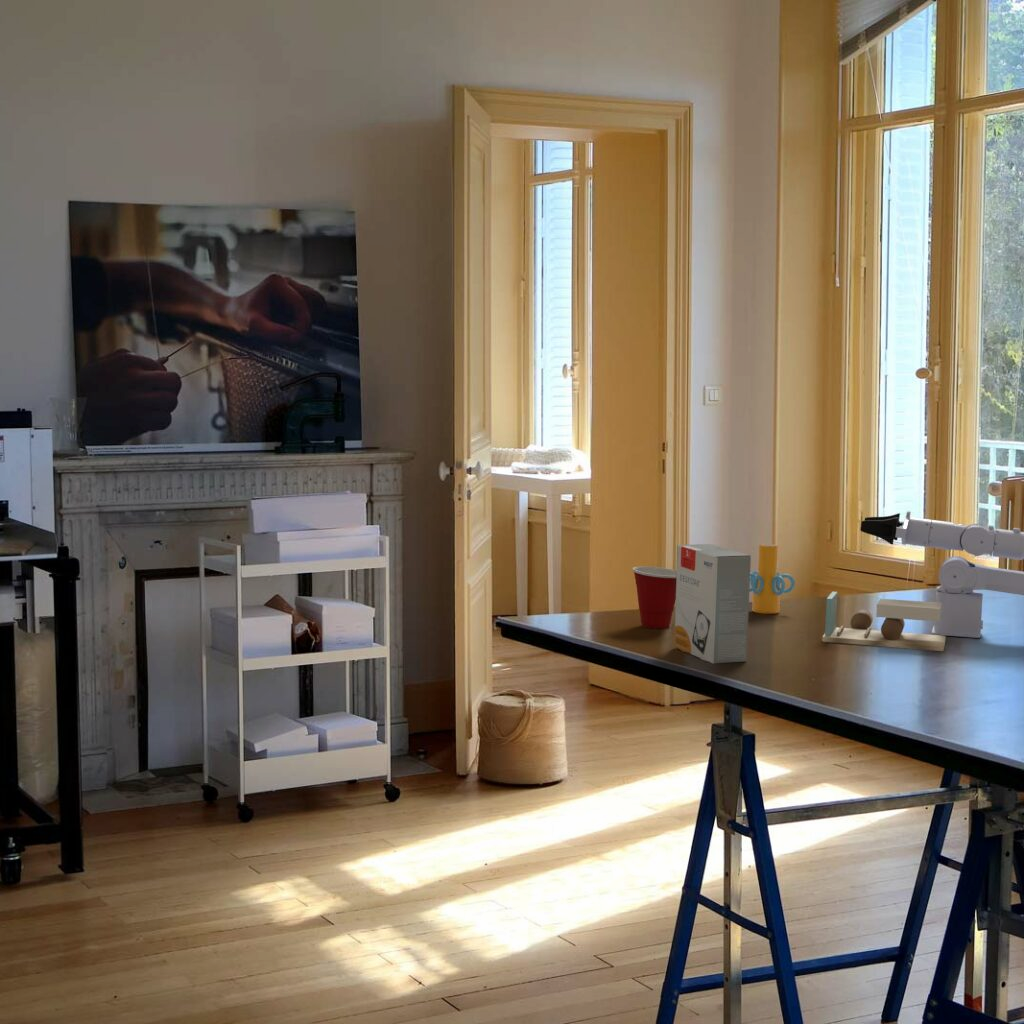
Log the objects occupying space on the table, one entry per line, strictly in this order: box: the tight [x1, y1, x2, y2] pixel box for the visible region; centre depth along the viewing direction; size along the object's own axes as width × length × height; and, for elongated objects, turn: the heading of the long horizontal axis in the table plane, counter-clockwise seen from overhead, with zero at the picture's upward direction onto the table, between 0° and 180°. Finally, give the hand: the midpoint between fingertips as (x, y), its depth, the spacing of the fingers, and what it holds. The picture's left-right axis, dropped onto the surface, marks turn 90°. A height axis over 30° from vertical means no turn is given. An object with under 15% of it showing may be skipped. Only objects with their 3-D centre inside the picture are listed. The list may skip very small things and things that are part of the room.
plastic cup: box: [632, 566, 677, 629], centre depth 293 cm, size 11×11×12 cm
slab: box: [875, 598, 942, 622], centre depth 280 cm, size 12×8×2 cm, turn 71°
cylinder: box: [749, 543, 796, 615], centre depth 314 cm, size 12×10×15 cm
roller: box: [849, 608, 874, 630], centre depth 294 cm, size 4×6×4 cm
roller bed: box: [821, 591, 947, 652], centre depth 282 cm, size 23×12×8 cm, turn 71°
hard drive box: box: [673, 543, 752, 664], centre depth 264 cm, size 16×8×20 cm, turn 21°
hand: (862, 524), depth 297 cm, fingers open, 7 cm apart
